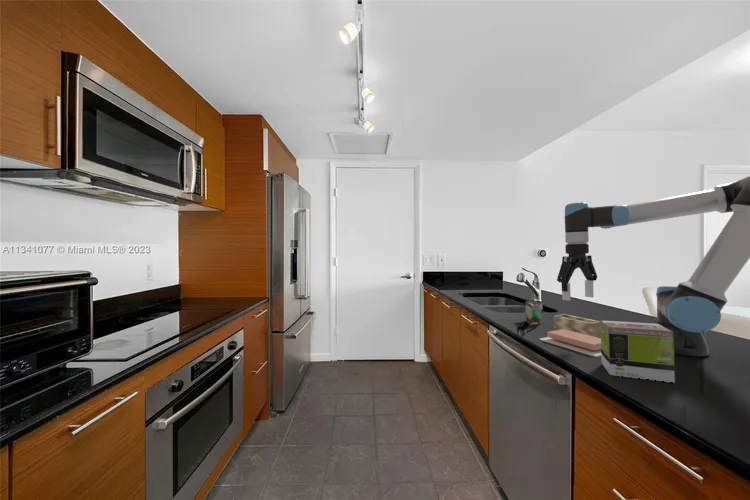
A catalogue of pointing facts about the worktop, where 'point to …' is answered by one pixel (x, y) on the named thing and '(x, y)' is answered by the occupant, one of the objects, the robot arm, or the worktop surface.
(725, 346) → the worktop surface
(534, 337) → the worktop surface
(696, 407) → the worktop surface
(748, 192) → the robot arm
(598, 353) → the grey mat
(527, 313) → the food container
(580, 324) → the birch box
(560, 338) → the peach flat tile
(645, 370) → the tea box
